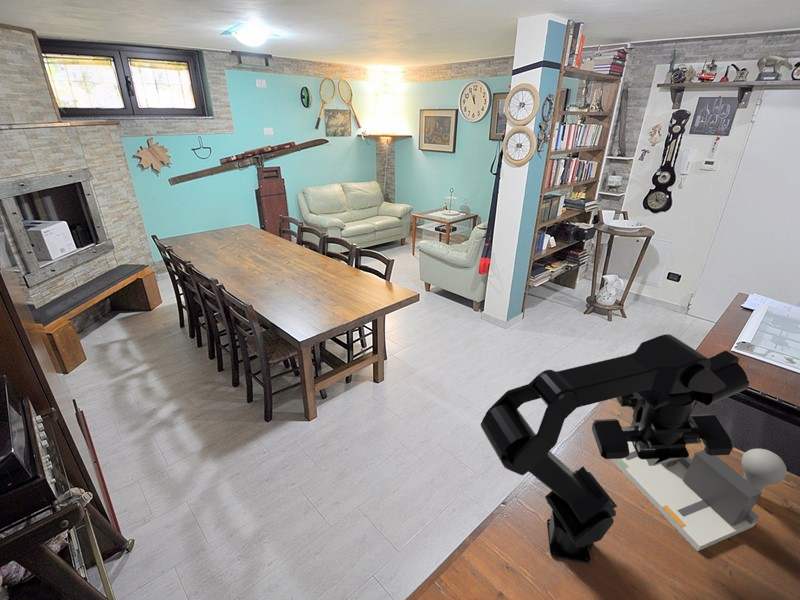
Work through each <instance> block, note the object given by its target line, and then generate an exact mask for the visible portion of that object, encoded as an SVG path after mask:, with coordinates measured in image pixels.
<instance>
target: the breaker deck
mask: <svg viewBox="0 0 800 600" xmlns="http://www.w3.org/2000/svg"><path fill="white" fill-rule="evenodd" d="M628 446H629V456H627V457H625V458H623V459H609V460H610V461H611V462H612V463H613V464H614V465H615V466H616V468H618V469H619V471H621V473H623V475H624V476H625V477H626V478H627V479H628V480H629V481H630V483H632V485H634V486H635V488H637V490H638V491H640V492H641V494H642V495H643V496H644V497H645V498H646V499H647V500H648V501H649V503H651V504H652V506H654V508H656V510H658V512H659V513H660V514H661V515H662V516H663V517H664V518H665V519H666V520H667V521H668V523H670V524H671V525H672V526H673V528H675V529H676V531H677V532H678V533H679V534H680V535H681V536H682V537H683V538H684V539H685V541H687V542H688V544H690V545H691V547H692V548H693V549H694V550H696V552H699V551H701V550H704V549H706V548H709V547H711V546H713V545H715V544H718V543H719V542H722V541H724V540H727V539H729V538H731V537H733V536H736V535H738V534H740V533H742V532H744V531H746V530H749V529H751V528H754V526H755V525H756V524H757V522H758V520H759V519H760V516H759V514H757V513H756V512H755V511H753V510H751V511H750V513H749V515H748V516H747V518H746V520H745V521H743V522H741V523H738V524H736V525H734V526H731V525H730V524H729V523H728V522H727V521H726V520H725V519H724V518H723V517H722V516H720V515H719V514H718V513H717V512H716V511H715V510H714V509H713V508H712V507H711V506H710V505H709V504H707V503H706V502H705V501H704V500H703V499H702V498H701V497H700V496H699V495H698V494H697V493H696V492H694V491H693V490H692V489H691V488H690V487H689V486H688V485H687V484H686V483H685V482H684V481H683V479H684V477H685V475H686V472H687V470H688V468H689V466H690V463H691V461H692V459H693V458H692V457H690V456H689V457H688V458H681V459H679V460H678V462H677V464H674V465H671V466H669V467H666V468H665V467H664V466H663V465H662V464H658V465H655V466H649V465H648V462H647V460H642V459H640V458H639V457H638V456H637V453H636V451H635V448H634V446H633V444H632V442H628Z"/></svg>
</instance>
